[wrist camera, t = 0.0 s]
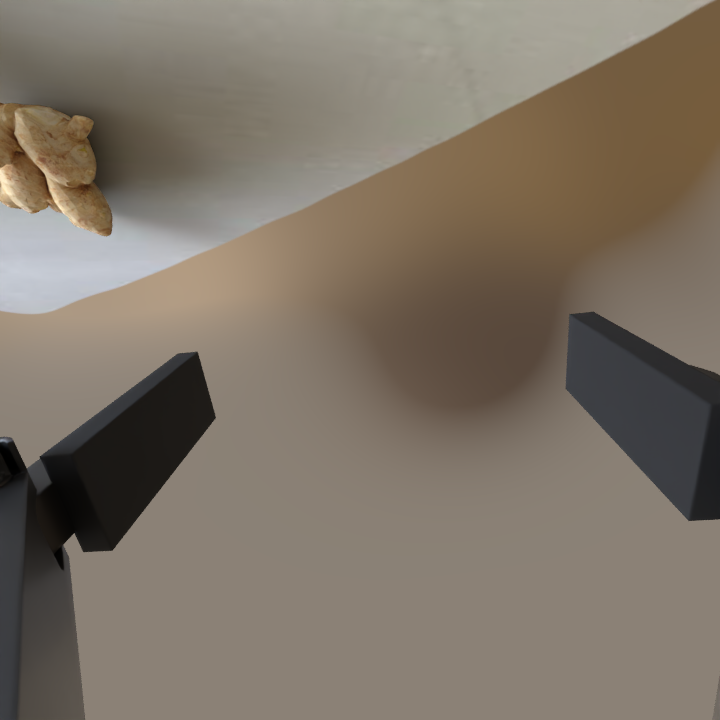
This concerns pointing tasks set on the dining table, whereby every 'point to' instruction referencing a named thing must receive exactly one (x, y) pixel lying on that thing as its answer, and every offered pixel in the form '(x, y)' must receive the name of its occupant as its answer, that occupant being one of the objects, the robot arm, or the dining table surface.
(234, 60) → the dining table surface
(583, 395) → the robot arm
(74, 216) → the ginger root
